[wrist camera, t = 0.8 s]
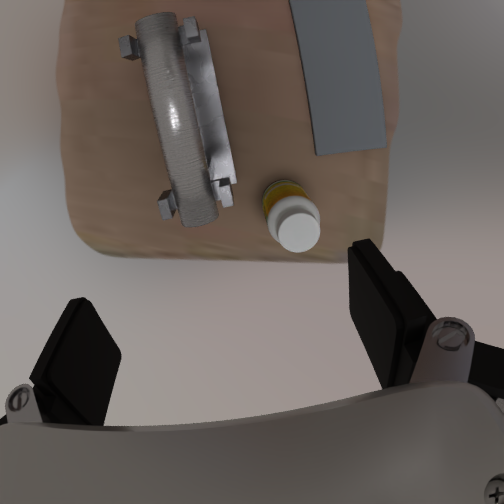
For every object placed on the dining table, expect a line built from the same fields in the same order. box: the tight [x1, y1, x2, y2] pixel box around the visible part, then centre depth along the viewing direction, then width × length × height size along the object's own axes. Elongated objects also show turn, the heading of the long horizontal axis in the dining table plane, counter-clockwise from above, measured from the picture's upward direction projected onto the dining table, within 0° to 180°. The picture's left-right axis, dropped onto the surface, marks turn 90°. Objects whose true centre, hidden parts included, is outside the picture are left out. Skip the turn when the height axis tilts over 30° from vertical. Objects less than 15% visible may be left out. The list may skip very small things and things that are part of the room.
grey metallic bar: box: [135, 12, 219, 227], centre depth 21 cm, size 16×3×3 cm, turn 10°
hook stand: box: [118, 16, 237, 220], centre depth 26 cm, size 18×6×13 cm, turn 10°
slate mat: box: [289, 0, 387, 156], centre depth 30 cm, size 20×9×1 cm, turn 10°
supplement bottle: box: [262, 180, 320, 252], centre depth 33 cm, size 5×5×10 cm
